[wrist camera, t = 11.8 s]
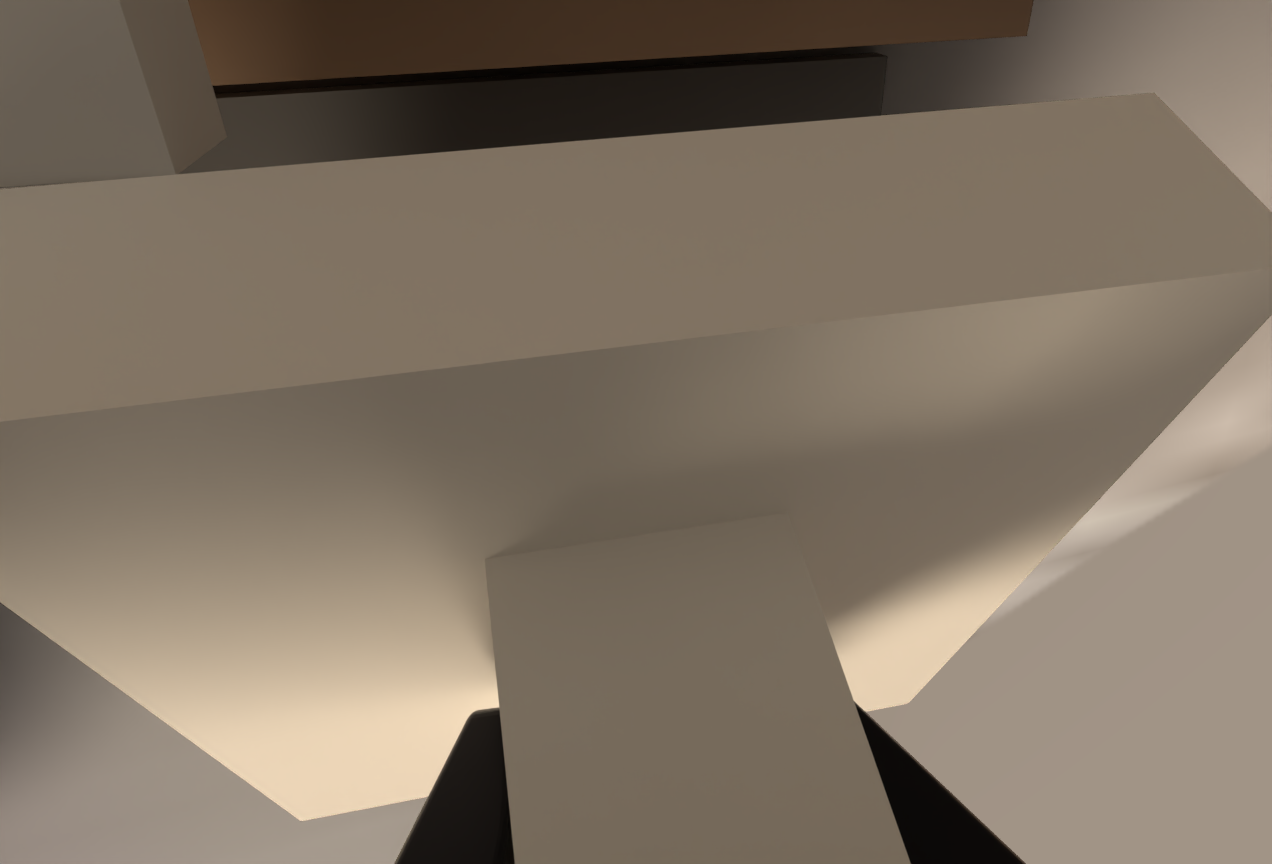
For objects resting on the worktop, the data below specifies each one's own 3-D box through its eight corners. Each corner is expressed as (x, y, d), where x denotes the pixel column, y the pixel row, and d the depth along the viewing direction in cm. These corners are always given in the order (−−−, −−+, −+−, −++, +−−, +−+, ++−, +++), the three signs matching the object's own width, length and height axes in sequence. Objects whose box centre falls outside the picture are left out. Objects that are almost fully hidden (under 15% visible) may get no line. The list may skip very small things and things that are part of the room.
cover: (862, 586, 14) (1010, 968, 11) (306, 681, 13) (288, 1148, 9) (1153, 92, 7) (1877, 827, 3) (-89, 196, 5) (-734, 1520, 2)
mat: (821, 576, 17) (827, 588, 17) (330, 636, 16) (326, 651, 16) (876, 52, 12) (887, 56, 12) (156, 97, 11) (144, 103, 11)
